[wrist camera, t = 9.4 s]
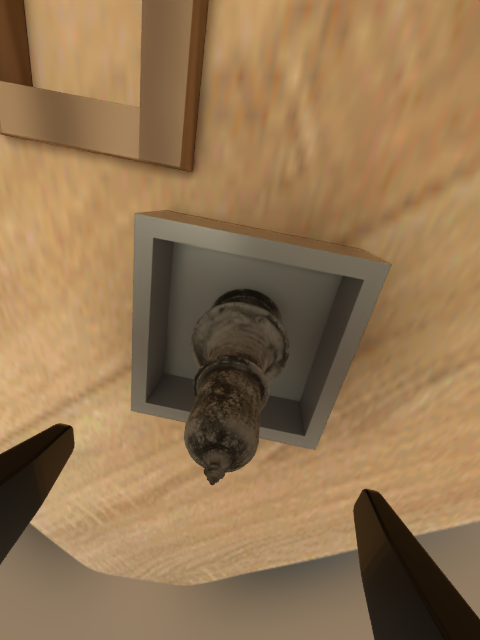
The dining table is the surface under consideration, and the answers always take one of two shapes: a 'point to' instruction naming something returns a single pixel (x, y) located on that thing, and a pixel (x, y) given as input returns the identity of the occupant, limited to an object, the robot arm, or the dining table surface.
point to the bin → (260, 275)
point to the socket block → (106, 117)
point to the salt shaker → (233, 379)
